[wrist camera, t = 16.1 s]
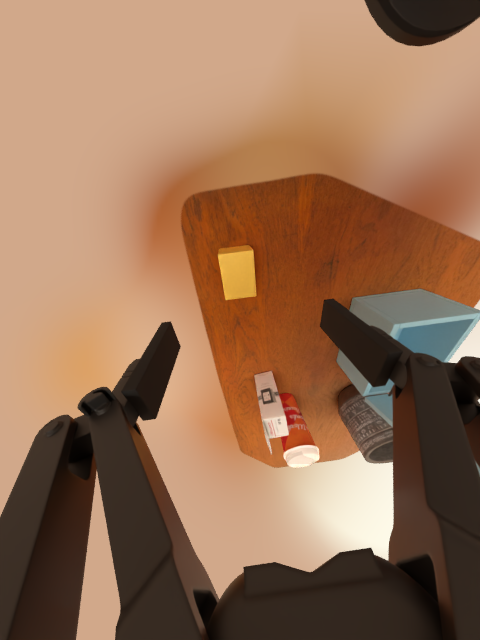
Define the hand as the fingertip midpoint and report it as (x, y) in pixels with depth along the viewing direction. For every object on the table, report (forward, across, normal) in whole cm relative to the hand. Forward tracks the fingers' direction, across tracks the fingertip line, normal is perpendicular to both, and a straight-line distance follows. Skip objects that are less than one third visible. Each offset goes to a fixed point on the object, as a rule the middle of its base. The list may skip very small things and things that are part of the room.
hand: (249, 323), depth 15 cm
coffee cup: (+18, +9, -40) cm, 44 cm away
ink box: (+18, +4, -31) cm, 36 cm away
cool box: (+17, +30, -18) cm, 38 cm away
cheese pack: (+18, 0, 0) cm, 18 cm away
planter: (+18, +31, -42) cm, 55 cm away
